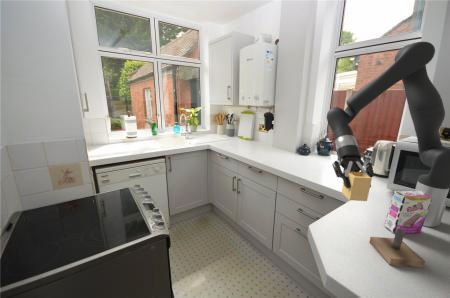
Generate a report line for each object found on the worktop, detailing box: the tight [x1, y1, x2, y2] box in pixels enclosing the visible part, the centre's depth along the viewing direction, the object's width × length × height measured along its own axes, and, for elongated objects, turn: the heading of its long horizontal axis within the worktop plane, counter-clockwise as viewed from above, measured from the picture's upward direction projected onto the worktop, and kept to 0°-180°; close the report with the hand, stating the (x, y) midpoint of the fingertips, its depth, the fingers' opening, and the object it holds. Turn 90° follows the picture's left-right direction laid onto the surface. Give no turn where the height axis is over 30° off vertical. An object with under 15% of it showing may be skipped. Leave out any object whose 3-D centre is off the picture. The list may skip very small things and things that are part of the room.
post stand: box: [368, 229, 426, 269], centre depth 65 cm, size 10×10×10 cm
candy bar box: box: [383, 190, 433, 235], centre depth 77 cm, size 11×5×16 cm, turn 92°
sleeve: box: [341, 171, 373, 202], centre depth 73 cm, size 6×6×9 cm
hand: (358, 188), depth 71 cm, fingers closed on sleeve, 6 cm apart
